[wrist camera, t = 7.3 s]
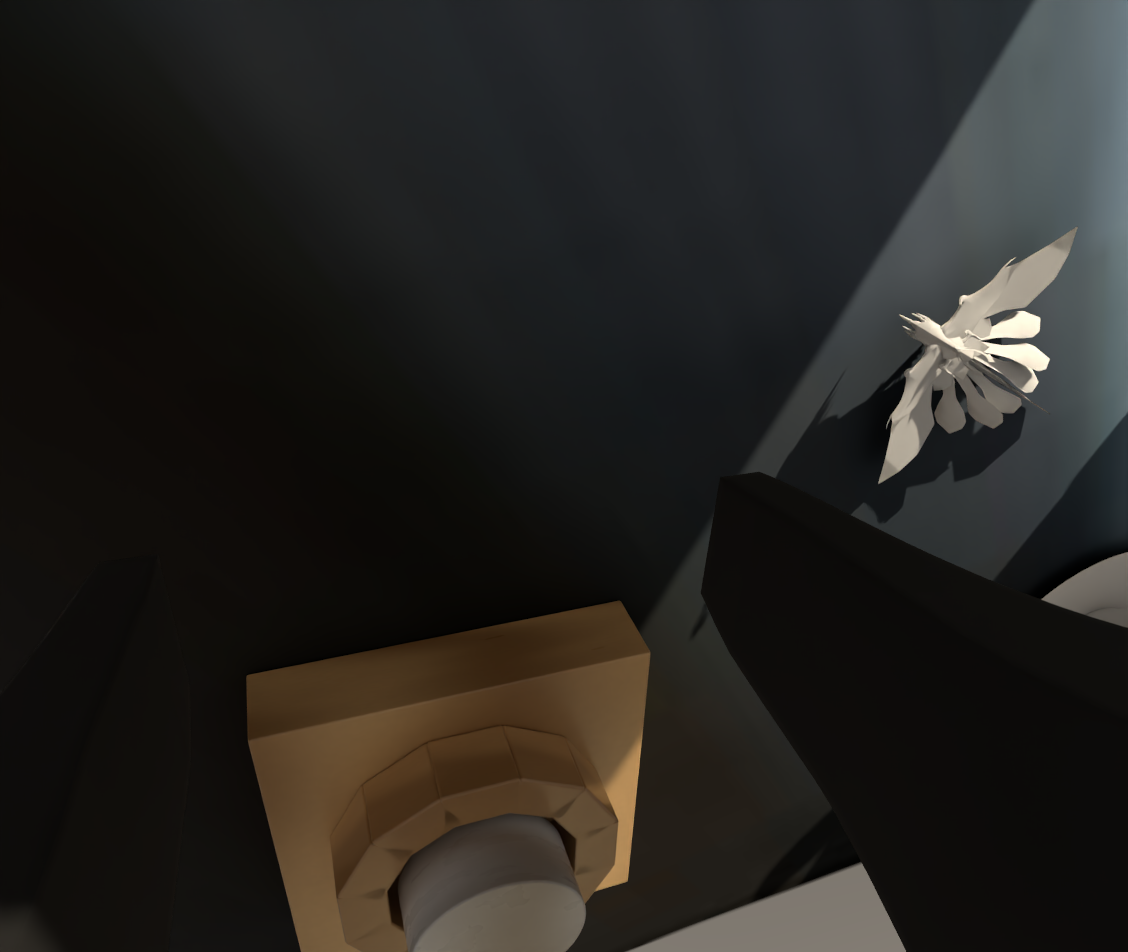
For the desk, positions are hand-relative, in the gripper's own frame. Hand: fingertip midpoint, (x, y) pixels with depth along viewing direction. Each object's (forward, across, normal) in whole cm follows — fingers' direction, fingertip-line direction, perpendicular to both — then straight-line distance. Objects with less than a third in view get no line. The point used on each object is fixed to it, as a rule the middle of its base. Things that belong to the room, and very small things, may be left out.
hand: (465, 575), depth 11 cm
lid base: (+8, -1, +14) cm, 16 cm away
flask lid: (+5, -1, +14) cm, 15 cm away
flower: (+9, -16, +2) cm, 18 cm away
